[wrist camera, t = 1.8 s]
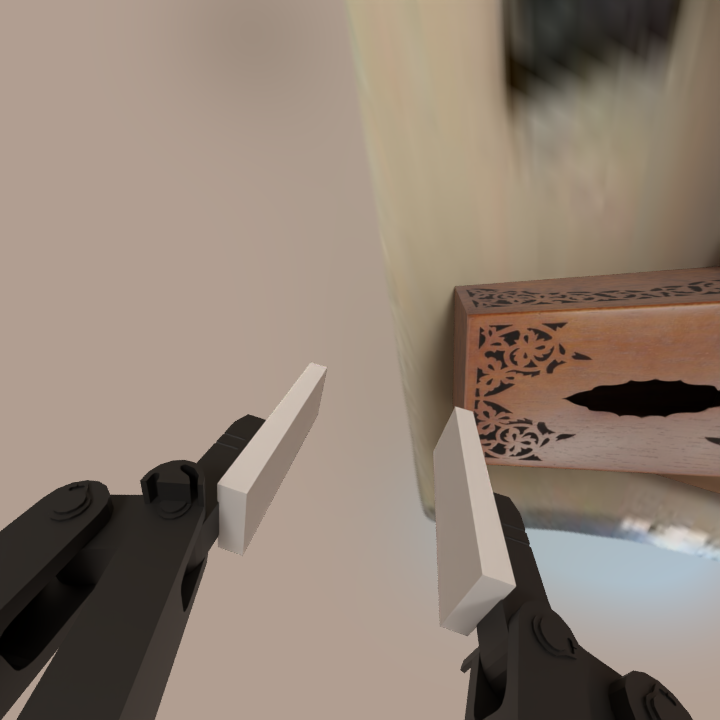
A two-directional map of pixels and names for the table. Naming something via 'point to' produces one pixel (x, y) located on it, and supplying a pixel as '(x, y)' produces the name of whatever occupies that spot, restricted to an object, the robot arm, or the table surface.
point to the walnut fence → (697, 481)
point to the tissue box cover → (594, 371)
